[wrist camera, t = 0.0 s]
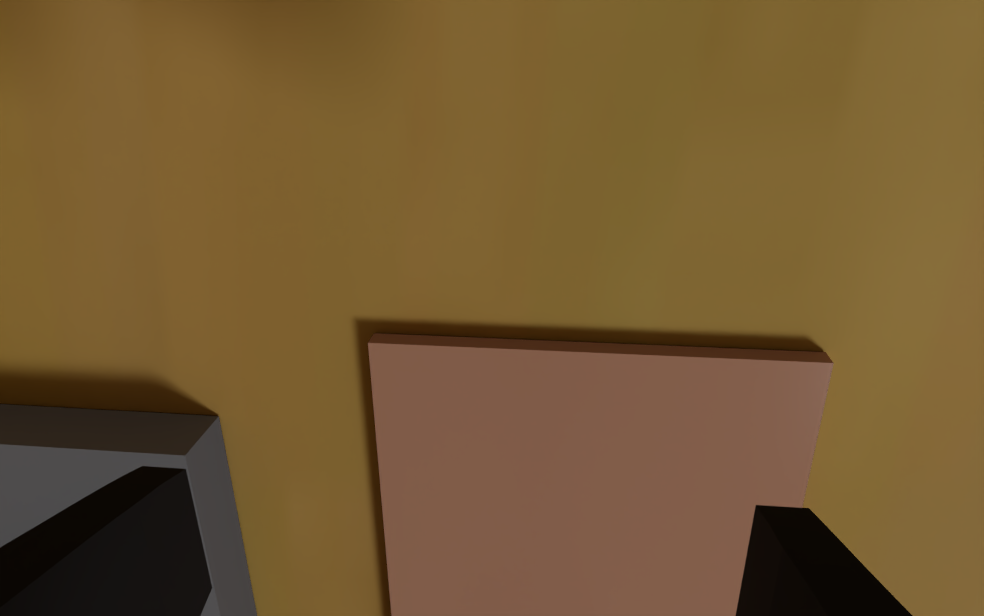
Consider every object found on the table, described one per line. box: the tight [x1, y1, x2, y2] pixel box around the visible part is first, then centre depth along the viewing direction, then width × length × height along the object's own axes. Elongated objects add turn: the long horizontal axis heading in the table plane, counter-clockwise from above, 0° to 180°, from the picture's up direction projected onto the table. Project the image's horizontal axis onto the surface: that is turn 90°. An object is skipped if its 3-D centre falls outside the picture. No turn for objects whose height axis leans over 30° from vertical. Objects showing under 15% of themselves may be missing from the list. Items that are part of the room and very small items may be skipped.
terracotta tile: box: [368, 333, 833, 616], centre depth 22 cm, size 16×12×1 cm
